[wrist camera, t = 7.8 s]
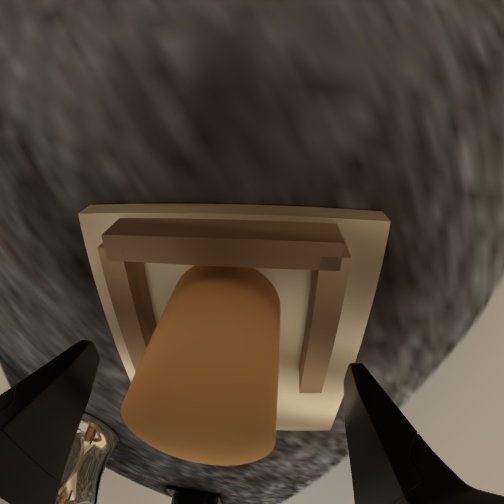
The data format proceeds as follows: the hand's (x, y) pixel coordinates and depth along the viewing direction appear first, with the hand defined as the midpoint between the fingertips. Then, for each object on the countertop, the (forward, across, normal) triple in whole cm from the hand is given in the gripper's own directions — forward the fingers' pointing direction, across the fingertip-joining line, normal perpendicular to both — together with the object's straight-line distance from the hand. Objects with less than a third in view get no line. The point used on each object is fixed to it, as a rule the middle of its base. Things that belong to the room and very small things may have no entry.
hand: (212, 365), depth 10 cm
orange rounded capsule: (+3, 0, 0) cm, 3 cm away
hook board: (+4, 0, +3) cm, 5 cm away
